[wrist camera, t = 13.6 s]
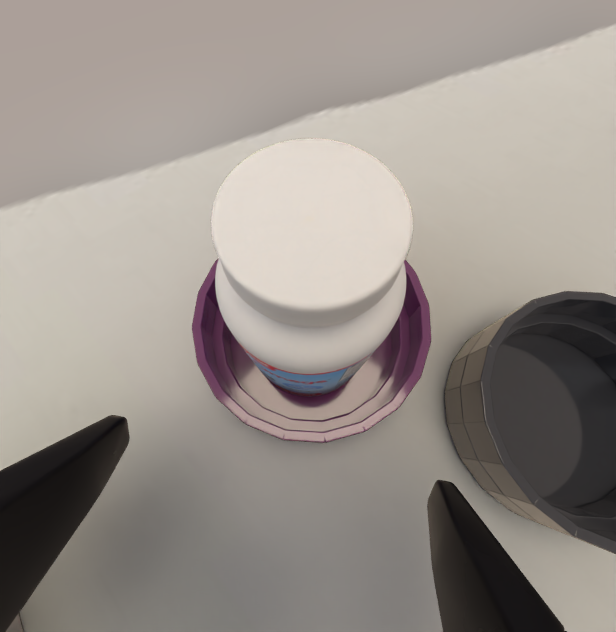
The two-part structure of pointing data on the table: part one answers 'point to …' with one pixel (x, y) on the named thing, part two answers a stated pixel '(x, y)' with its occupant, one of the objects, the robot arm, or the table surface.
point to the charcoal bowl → (543, 413)
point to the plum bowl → (317, 411)
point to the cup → (15, 625)
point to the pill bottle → (311, 260)
